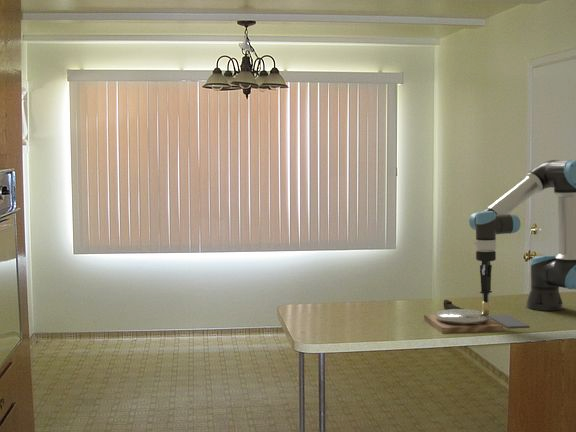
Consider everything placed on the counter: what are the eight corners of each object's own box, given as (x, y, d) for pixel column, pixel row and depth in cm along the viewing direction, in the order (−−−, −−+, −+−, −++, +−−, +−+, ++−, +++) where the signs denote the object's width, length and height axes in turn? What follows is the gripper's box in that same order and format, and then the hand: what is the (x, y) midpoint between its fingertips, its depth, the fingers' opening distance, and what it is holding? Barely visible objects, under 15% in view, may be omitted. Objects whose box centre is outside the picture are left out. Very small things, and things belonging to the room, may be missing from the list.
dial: (485, 314, 308) (485, 297, 308) (492, 325, 289) (492, 306, 288) (434, 313, 311) (434, 296, 310) (438, 324, 291) (438, 306, 290)
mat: (507, 315, 317) (507, 314, 317) (529, 327, 295) (529, 325, 295) (486, 316, 316) (486, 314, 316) (507, 328, 294) (507, 326, 294)
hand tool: (466, 317, 315) (466, 306, 314) (456, 318, 314) (456, 307, 314) (450, 309, 333) (450, 298, 333) (441, 309, 333) (441, 299, 333)
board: (480, 317, 313) (480, 312, 313) (503, 330, 289) (503, 324, 289) (424, 319, 311) (424, 314, 310) (441, 332, 287) (441, 326, 287)
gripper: (479, 248, 306) (479, 305, 308) (473, 252, 294) (473, 312, 296) (498, 248, 303) (498, 306, 305) (492, 252, 291) (493, 313, 293)
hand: (486, 309), depth 300 cm, fingers closed
